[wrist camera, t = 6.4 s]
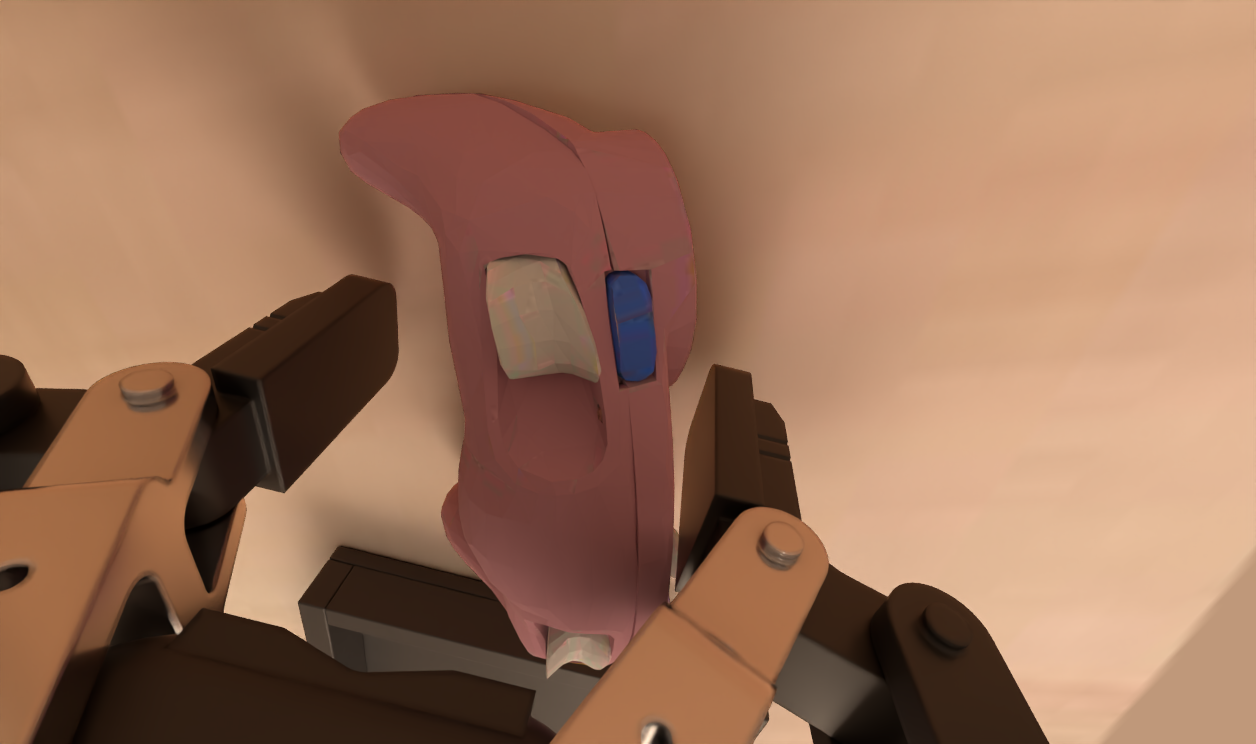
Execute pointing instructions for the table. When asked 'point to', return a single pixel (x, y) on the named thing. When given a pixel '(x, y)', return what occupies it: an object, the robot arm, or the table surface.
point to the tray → (431, 629)
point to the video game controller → (552, 352)
